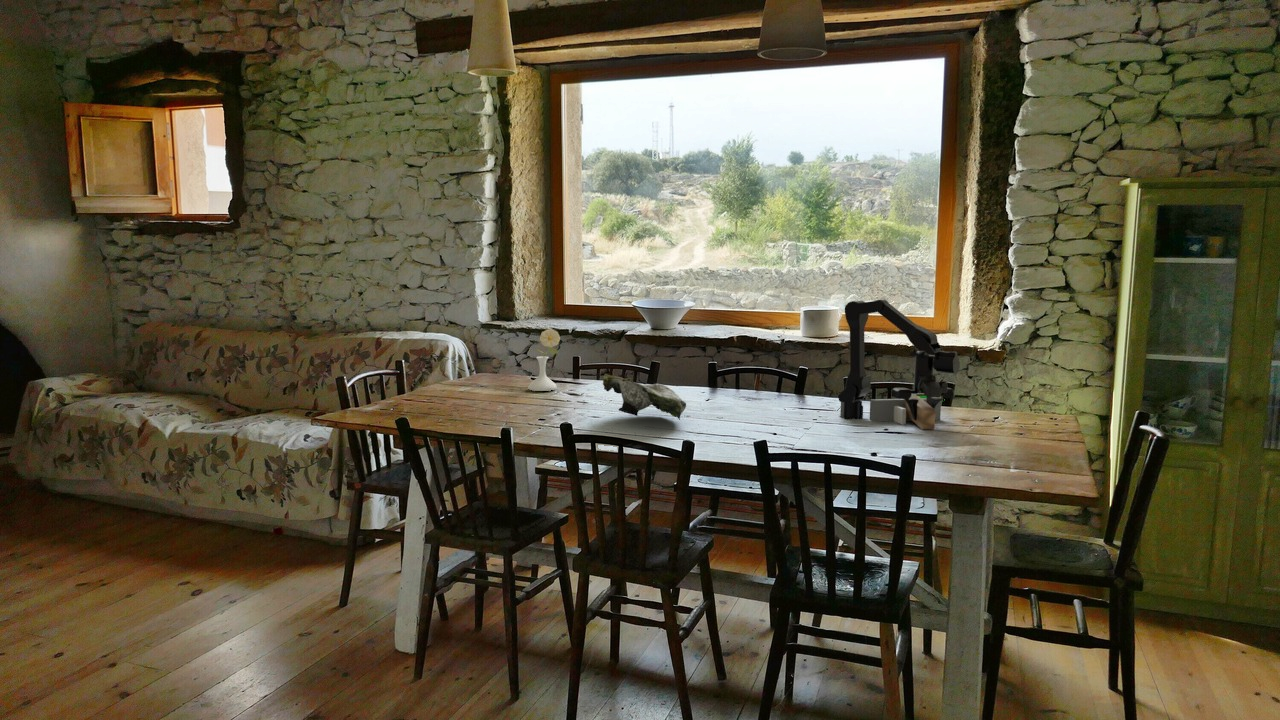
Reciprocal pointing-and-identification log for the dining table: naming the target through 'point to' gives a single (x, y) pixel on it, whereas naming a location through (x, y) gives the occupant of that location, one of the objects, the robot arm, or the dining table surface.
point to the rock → (644, 396)
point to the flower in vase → (542, 381)
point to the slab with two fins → (893, 410)
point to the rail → (923, 414)
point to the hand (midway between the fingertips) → (921, 419)
